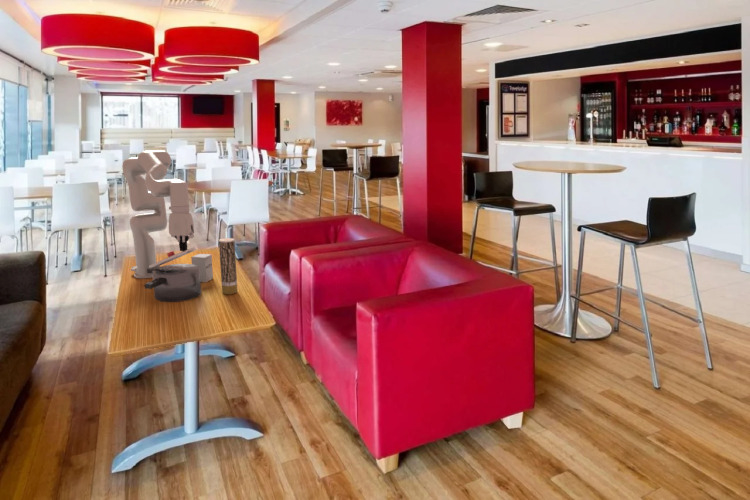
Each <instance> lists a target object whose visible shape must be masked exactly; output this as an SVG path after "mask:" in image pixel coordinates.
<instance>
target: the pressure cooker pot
mask: <svg viewBox="0 0 750 500" xmlns="http://www.w3.org/2000/svg"><path fill="white" fill-rule="evenodd" d="M147 273H150V274H152V275H153V278H152V280H151V281H148V282H146V283H144V289H148V290H152V289H153V294H154V299H155V300H156V301H159V302H163V303H177V302H185V301H190V300H192V299H196V298H198V297H200V296H201V295H202V284H201V283H202V282H200V269H199V266H197V265H193V264H192V263H173V264H167V265H160V266H158V267H155V268H153V269H150V268H149V269H147Z"/></svg>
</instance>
